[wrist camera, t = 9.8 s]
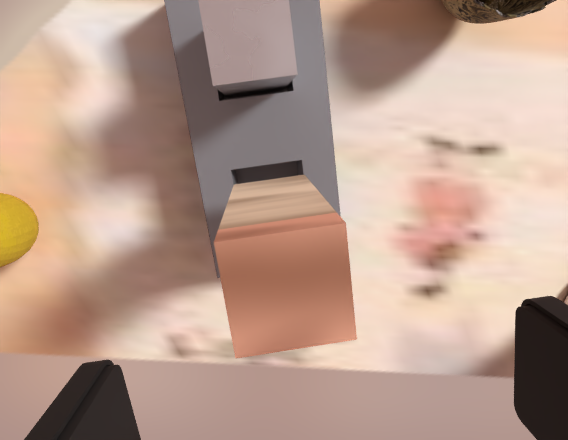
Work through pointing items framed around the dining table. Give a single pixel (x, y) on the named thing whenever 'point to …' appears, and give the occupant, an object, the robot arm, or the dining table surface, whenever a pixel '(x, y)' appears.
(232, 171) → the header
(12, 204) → the lemon
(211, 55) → the metal plug
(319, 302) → the birch plug
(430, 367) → the dining table surface
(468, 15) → the cup
